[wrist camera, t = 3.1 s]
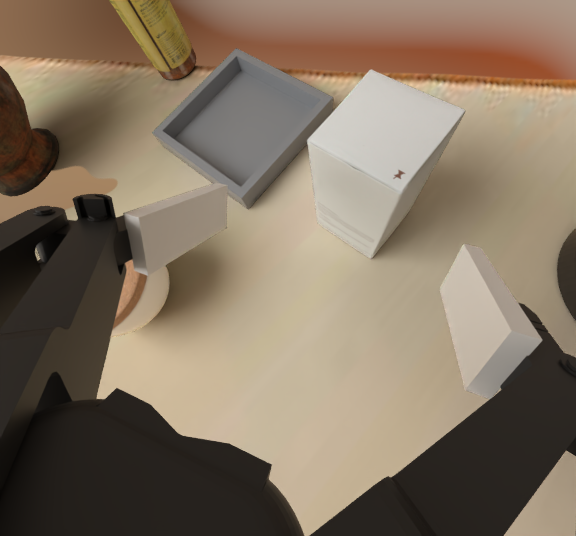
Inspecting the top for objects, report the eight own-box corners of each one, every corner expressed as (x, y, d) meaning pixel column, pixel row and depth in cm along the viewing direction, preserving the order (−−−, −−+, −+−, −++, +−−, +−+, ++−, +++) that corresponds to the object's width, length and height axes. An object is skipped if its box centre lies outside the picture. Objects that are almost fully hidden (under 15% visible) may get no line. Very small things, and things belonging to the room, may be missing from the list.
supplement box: (412, 208, 28) (473, 109, 16) (370, 261, 27) (401, 197, 15) (355, 174, 30) (371, 64, 18) (314, 222, 30) (303, 139, 18)
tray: (332, 115, 33) (332, 97, 31) (248, 209, 31) (241, 198, 29) (242, 66, 38) (236, 48, 35) (163, 146, 36) (151, 132, 34)
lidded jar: (90, 338, 30) (-12, 335, 21) (112, 247, 33) (31, 211, 24) (178, 343, 28) (108, 343, 19) (193, 248, 31) (138, 209, 22)
